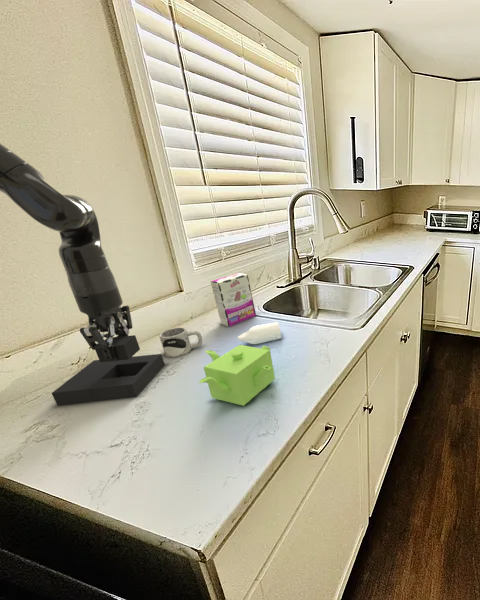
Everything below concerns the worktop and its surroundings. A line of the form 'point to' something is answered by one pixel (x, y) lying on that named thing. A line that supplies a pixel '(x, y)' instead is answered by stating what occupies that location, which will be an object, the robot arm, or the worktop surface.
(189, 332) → the mug
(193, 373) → the worktop surface
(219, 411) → the worktop surface
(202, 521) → the worktop surface
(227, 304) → the candy bar box
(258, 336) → the white tapered cylinder
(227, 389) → the kettle
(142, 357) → the base pad
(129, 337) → the small pad
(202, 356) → the worktop surface
